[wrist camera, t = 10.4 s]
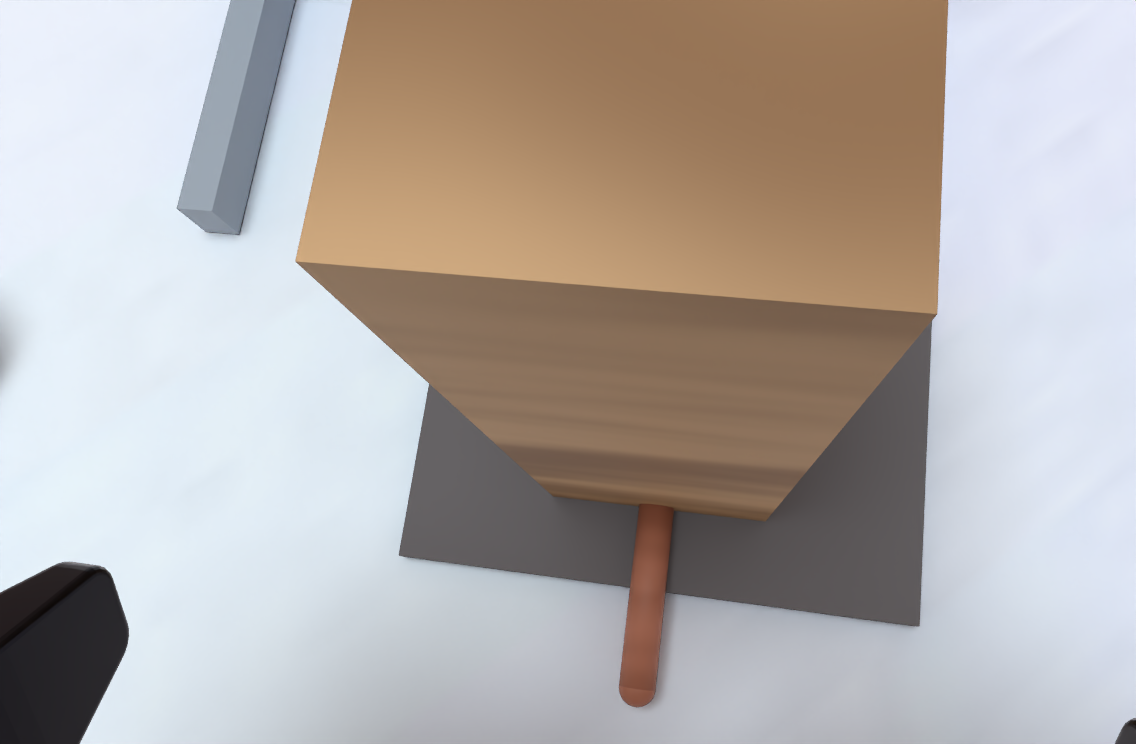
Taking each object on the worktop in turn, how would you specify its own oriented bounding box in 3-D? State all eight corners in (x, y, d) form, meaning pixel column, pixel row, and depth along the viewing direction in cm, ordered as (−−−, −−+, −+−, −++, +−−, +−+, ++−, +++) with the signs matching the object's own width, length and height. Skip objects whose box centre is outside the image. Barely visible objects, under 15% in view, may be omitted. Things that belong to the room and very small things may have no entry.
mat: (915, 625, 20) (919, 626, 20) (403, 556, 22) (398, 555, 22) (928, 310, 22) (932, 304, 22) (454, 270, 24) (450, 264, 24)
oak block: (749, 722, 20) (913, 992, 6) (527, 688, 21) (167, 849, 6) (781, 316, 22) (955, -234, 8) (579, 299, 23) (402, -230, 9)
